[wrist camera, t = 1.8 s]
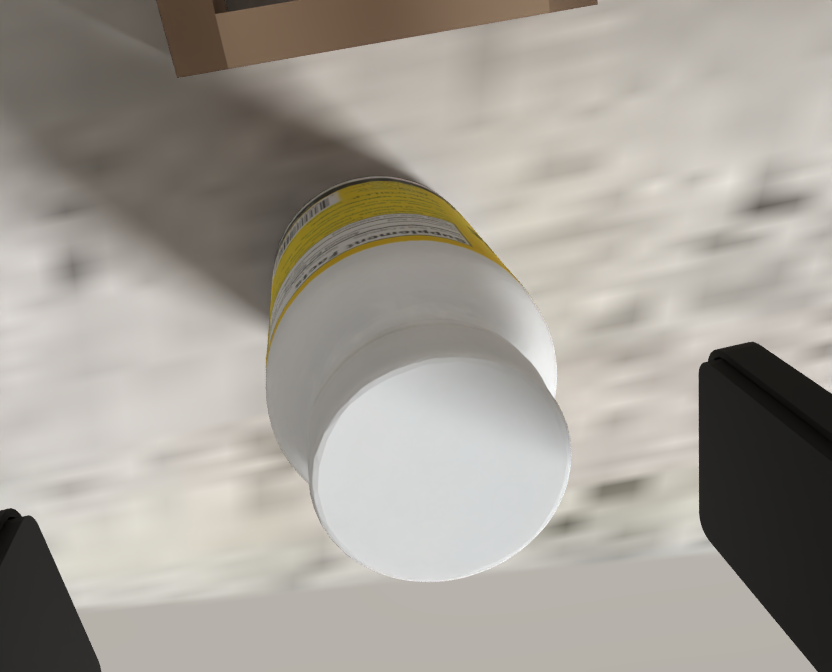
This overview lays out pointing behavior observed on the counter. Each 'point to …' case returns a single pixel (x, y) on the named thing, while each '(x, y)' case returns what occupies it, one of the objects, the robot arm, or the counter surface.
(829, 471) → the robot arm
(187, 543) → the counter surface
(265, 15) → the box
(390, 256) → the supplement bottle
